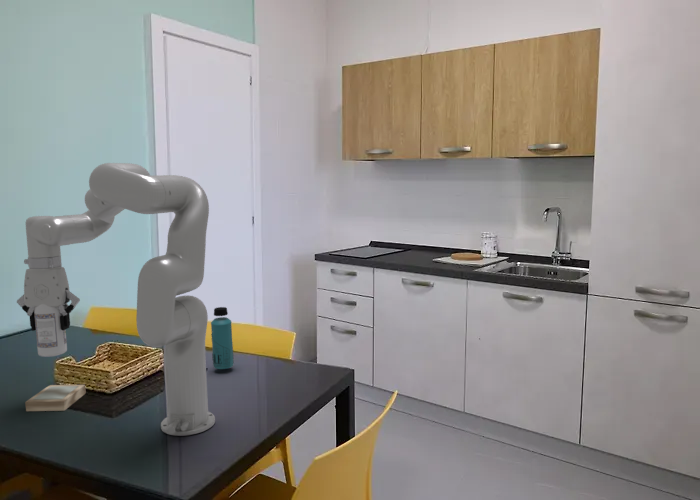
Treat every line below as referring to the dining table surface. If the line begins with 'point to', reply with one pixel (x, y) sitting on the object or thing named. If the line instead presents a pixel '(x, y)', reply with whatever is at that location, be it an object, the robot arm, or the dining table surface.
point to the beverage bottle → (222, 340)
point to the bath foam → (49, 331)
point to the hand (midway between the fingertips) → (50, 328)
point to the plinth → (55, 398)
